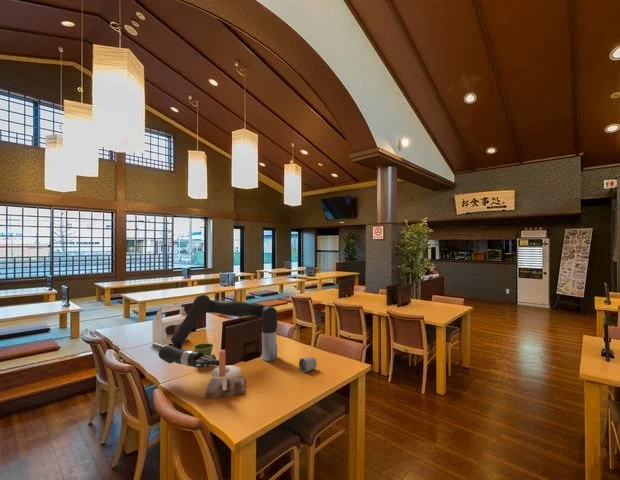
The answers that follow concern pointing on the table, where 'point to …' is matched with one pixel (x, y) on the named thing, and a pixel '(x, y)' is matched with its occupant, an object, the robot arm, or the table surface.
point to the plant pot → (204, 348)
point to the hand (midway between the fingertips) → (219, 363)
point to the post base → (233, 387)
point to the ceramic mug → (307, 364)
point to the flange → (224, 370)
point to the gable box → (166, 323)
